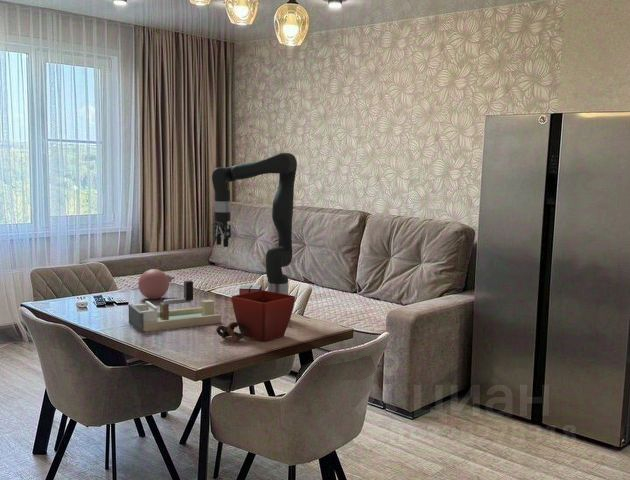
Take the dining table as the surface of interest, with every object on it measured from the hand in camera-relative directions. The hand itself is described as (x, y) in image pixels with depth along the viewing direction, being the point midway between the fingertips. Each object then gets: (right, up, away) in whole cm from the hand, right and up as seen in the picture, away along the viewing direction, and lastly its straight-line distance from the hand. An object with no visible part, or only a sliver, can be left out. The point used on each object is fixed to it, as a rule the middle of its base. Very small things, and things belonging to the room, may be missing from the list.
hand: (222, 245), depth 294 cm
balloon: (-38, -28, +34) cm, 58 cm away
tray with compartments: (-18, -34, -14) cm, 41 cm away
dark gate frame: (-18, -32, -15) cm, 39 cm away
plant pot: (+22, -37, -34) cm, 55 cm away
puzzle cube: (+11, -31, +19) cm, 38 cm away
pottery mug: (+10, -38, -40) cm, 56 cm away
